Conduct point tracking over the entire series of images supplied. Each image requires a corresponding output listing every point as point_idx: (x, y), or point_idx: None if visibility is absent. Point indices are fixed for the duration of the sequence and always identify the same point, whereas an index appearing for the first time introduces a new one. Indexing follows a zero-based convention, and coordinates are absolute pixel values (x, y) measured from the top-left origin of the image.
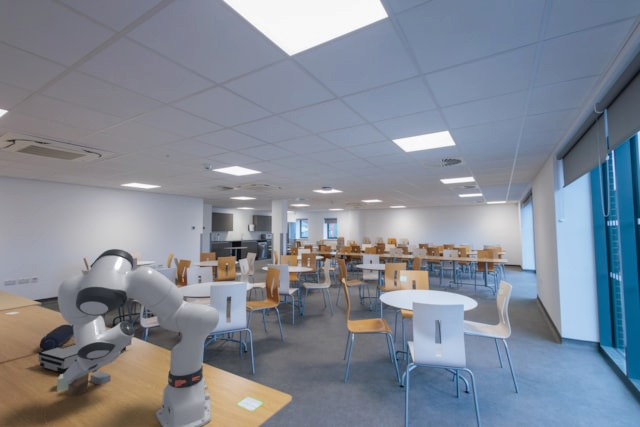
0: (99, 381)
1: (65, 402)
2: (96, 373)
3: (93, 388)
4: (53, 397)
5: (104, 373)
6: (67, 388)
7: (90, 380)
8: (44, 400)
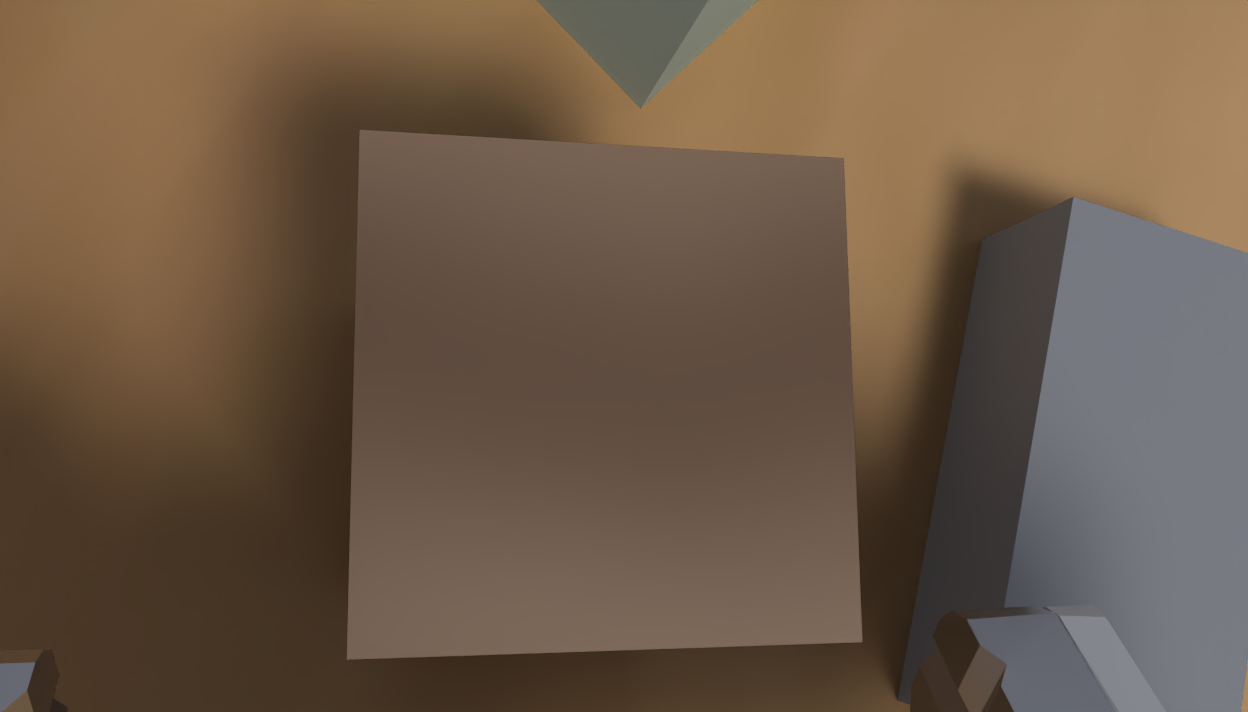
0: None
1: None
2: (1180, 267)
3: (747, 673)
4: (178, 88)
5: (1242, 500)
6: (574, 35)
7: (994, 235)
8: (14, 6)
